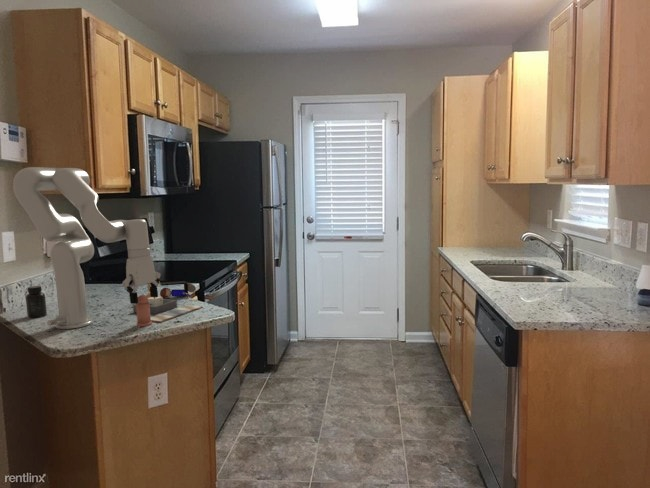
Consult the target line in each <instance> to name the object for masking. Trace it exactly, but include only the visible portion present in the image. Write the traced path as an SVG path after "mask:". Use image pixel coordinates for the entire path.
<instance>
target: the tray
mask: <svg viewBox="0 0 650 488" xmlns="http://www.w3.org/2000/svg"><path fill="white" fill-rule="evenodd" d="M177 308H178V301H177V300H175V299H169V298H167V299H164V298H163V304H161V305H158V306H150V315H160V314H163V313H166V312H169V311H172V310H175V309H177ZM132 309H133V313H137V311H136V304H132Z"/></svg>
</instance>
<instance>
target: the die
mask: <svg viewBox="0 0 650 488" xmlns="http://www.w3.org/2000/svg"><path fill="white" fill-rule="evenodd" d="M163 299H164V298H163V297H161V296H158V297H150V298H148V302H149V306H158V305H161V304H163Z"/></svg>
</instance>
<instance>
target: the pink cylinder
mask: <svg viewBox="0 0 650 488" xmlns="http://www.w3.org/2000/svg"><path fill="white" fill-rule="evenodd" d="M146 296H147V295H146V294H145V295H144V294H140V295H139V296H138V303H137V304H136V311H137V312H136V320H137V322H136V327H139V328H144V327H148V326H149V327H150V326H151V325H153V322H152V321H151V314H150V306H149V302H148V298H147V297H146Z"/></svg>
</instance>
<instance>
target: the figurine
mask: <svg viewBox="0 0 650 488" xmlns="http://www.w3.org/2000/svg"><path fill="white" fill-rule="evenodd" d="M160 281H161V280H160ZM160 281H159V283H158V286H161V285H160V283H161V282H160ZM150 286H151V285H150V284H147V287H146V288H147V290H148V293H147V294H146V295H145V296H146V297H147V298H150V297H151V296H150Z"/></svg>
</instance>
